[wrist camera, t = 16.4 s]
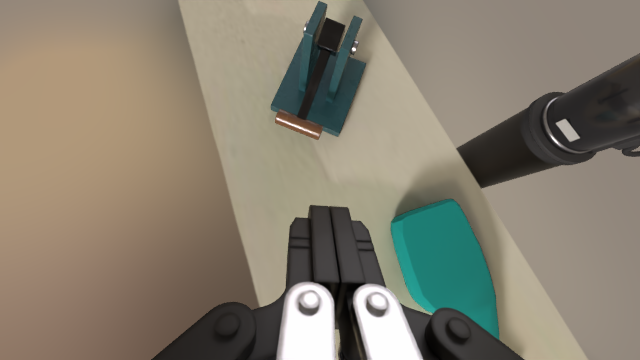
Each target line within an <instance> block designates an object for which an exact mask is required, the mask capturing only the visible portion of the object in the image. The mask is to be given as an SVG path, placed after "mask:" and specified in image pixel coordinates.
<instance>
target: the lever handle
mask: <svg viewBox="0 0 640 360" xmlns="http://www.w3.org/2000/svg"><path fill="white" fill-rule="evenodd" d="M344 33H345V25H343V24H341V23H338V22H336V21H334V20H331V19H329V18H326V19H325V22H324V25H323V28H322V30H321V33H320V36H319V39H318V42H317V47H318V50H320V54H319V57H318V59H317V62H316V65H315V68H314V70H313V73H312V76H311V79H310V81H309V84H308V87H307V90H306V93H305V95H304V98H303V101H302V104H301V106H300V109H299V112H298V115H295V114H293V113H290V112H288V111H285V110H283V109H279V111H278V113H277V115H276V118H275V123H276V124H279V125H281V126H284V127H286V128H289V129H291V130H294V131H296V132H299V133H301V134H304V135H306V136H309V137H311V138H314V139H316V140H319V137H320V135H321V132H322V130H323V127H324V126H323V125H320V124H318V123H315V122H313V121H310V120H308V119H307V117H308V114H309V112H310V109H311V106H312V104H313V101H314V98H315V95H316V93H317V90H318V87H319V85H320V82H321V79H322V77H323V74H324V71H325V69H326V66H327V63H328V60H329V58H330V55H333V56H336V54H337V52H338V49H339V46H340V44H341V41H342V38H343V36H344Z"/></svg>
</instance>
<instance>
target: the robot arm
mask: <svg viewBox="0 0 640 360" xmlns="http://www.w3.org/2000/svg"><path fill="white" fill-rule="evenodd" d="M540 124H541V128H542V131H543V133H544V135H545V136H546V138H547V139H548V141H549V142H550V143H551V144H552V145H553V146H554V147H556V148H557V149H559V150H560V151H562V152H564V153H567V154H573V155H577V154H582V153H585V152H587V153H589V154H592V153H595V152H598V151H602V150H605V149H608V148H615V149H618V150H621V149H622V153H623V154H624V155H626V156H632V157H636V156H640V151H637V152H631V151H632V150H634V149H636V148H638V147H639V146H640V53H639V54H637V55H636V56H634V57H632V58H630V59H628V60H626V61H624V62H623V63H621V64H619V65H617V66H615V67H613V68H612V69H610V70H608V71H606V72H604V73H602V74H601V75H599V76H597V77H595V78H593V79H591V80H589V81H588V82H586V83H584V84H582V85H580V86H578V87H577V88H575V89H573V90H571V91H569V92H567V93H565V94H564V95H562V96H560V97H557V98H555V99H553V100H551V101H549V102H548V103H546V104H545V105H544V107H543V108H542V111H541V114H540ZM335 329H339V333H340V345H339V348H338V357H339V360H524V359H523V358H522V357H520V356H519V355H518V354H516V353H515V352H514V351H513V350H511V349H510V348H509V347H507V346H506V345H505V344H503V343H502V342H501V341H499V340H498V339H497V338H496V337H494V336H493V335H492V334H490V333H489V332H488V331H486V330H485V329H484V328H483V327H481V326H480V325H479V324H477V323H476V322H475V321H473V320H472V319H471V318H470V317H468V316H467V315H465V314H464V313H462V312H460V311H458V310H456V309H452V308H439V309H437V310H436V311H435V312H434V313H433V315H429V314H426V313H423V312H420V311H416V310H413V309H411V308H408V307H406V306H404V305H402V304H401V303H399V301H398V299H397V297H396V296H395V295H394V294H393V293H392V292H391V291H390V290H388V289H387V288H386V285H385V282H384V279H383V276H382V273H381V269H380V266H379V263H378V260H377V256H376V253H375V252H374V247H373V243H372V240H371V237H370V234H369V230H368V229H367V228H366V227H365V226H364V225H363V223H362V222H361V221H351V217H350V212H349V209H348V207H333V206H329V207H328V206H316V205H310V206H309V213H308V218H297V217H296V218H295V219H294V221H293V222H292V224H291V225H290V231H289V243H288V255H287V274H286V289H285V291H284V293H283V294H282V296H281V297H280V298H279V299H278V300H276V301H275V302H273V303H271V304H269V305H267V306H264V307H260V308H257V309H254V310H251V309H250V308H249V307H248V306H246V305H244V304H242V303H238V302H228V303H223V304H221V305H218V306H216V307H214V308H213V309H212V310H210V311H209V312H208V313H206V314H205V315H204V316H203V317H202V318H201V319H200V320H198V321H197V322H196V323H195V324H194V325H192V326H191V327H190V328H189V329H187V330H186V331H185V332H184V333H183V334H181V335H180V336H179V337H178V338H177V339H175V340H174V341H173V342H172V343H171V344H169V345H168V346H167V347H166V348H165V349H163V350H162V351H161V352H160V353H159V354H157V355H156V356H155V357H154V358H153V359H151V360H336V348H335Z"/></svg>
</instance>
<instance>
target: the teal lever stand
mask: <svg viewBox="0 0 640 360" xmlns="http://www.w3.org/2000/svg"><path fill="white" fill-rule="evenodd" d="M326 10H327V4H325V3H323V2H321V1H319V2H318V4H317V6H316V8H315V10H314V12H313V14H312V16H311V18H310V21H307V22H306V24H305V27H304V32H303V34H304V37H303V38H302V40H301V43H300V45H299V47H298V49H297V51H296V53H295V55H294V57H293V59H292V62H291V64H290V66H289V68H288V70H287V72H286V74H285V76H284V78H283V81H282V83H281V85H280V87H279V89H278V91H277V93H276V95H275V98H274V100H273V102H272V104H271V110H273V111H275V112H278V111H279V109H283V110H285V111H288V112H290V113H293V114H295V115H298V112H299V109H300V106H301V104H302V101H303V98H304V95H305V93H306V90H307V87H308V84H309V81H310V79H311V76H312V73H313V70H314V68H315V65H316V62H317V59H318V57H319V54H320V50H318V47H317V42H318V39H319V36H320V33H321V30H322V28H323V25H324V21H325V15H326ZM362 20H363V19H361V18H359V17H357V16H354V17H353V19H352V21H351V24H350V26H349V28H348V31H347V33H346V36H345V38H344V40H343V43H342V45H341V48H340V51H339V52H337V54H336V56H333V55H330V58H329V60H328V63H327V66H326V69H325V71H324V74H323V77H322V79H321V82H320V85H319V87H318V90H317V93H316V95H315V98H314V101H313V104H312V106H311V109H310V112H309V114H308V117H307V119H308V120H310V121H313V122H315V123H318V124H320V125H323V126H324V127H323V131H325V132H328V133H330V134H333V135H335V136H339V134H340V131H341V129H342V126H343V123H344V121H345V118H346V115H347V113H348V110H349V108H350V105H351V102H352V100H353V97H354V95H355V92H356V89H357V87H358V84H359V81H360V79H361V76H362V74H363V71H364V68H365V66H366V63H364V62H361V61H359V60H356V59H354V58H351V57H350V54H353V55H354V53H355V51H356V48H357V46H358V43H359V42H358V41H356V37H357V34H358V31H359V28H360V25H361V23H362Z"/></svg>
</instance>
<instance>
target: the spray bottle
mask: <svg viewBox="0 0 640 360" xmlns="http://www.w3.org/2000/svg"><path fill="white" fill-rule="evenodd" d="M391 234H392V238H393V243H394V247H395V251H396V254H397V257H398V261H399V264H400V267H401V270H402V273H403V277H404V280H405V283H406V286H407V288H408V290H409V292H410V295H411V296H412V298H413V299H414V300H415V302H417V303H418V304H419V305H420V306H421V307H423V308H424V309H425V310H427V311H429V312H432V313H434V312H435V311H436V310H437V309H439V308H452V309H456V310H458V311H460V312H462V313H464V314H465V315H467V316H468V317H470V318H471V319H472V320H473V321H475V322H476V323H477V324H479V325H480V326H481V327H483V328H484V329H485V330H486V331H488V332H489V333H490V334H492V335H493V336H494V337H496V338H497V339H498V340H499V327H498V318H497V309H496V295H495V291H494V287H493V284H492V280H491V276H490V272H489V270H488V267H487V264H486V261H485V258H484V255H483V252H482V250H481V247H480V245H479V243H478V241H477V239H476V237H475V235H474V233H473V231H472V228H471V226H470V224H469V222H468V220H467V218H466V216H465V214H464V212H463V211H462V209H461V207H460V205H459V204H458V203H457V202H455V201H454V200H453V199H446V200H443V201H439V202H436V203H433V204H430V205H427V206H424V207H421V208H418V209H415V210H411V211H409V212H406V213H404V214H402V215H399V216H397V217H395V218H394V219H393V220H392V221H391Z"/></svg>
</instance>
